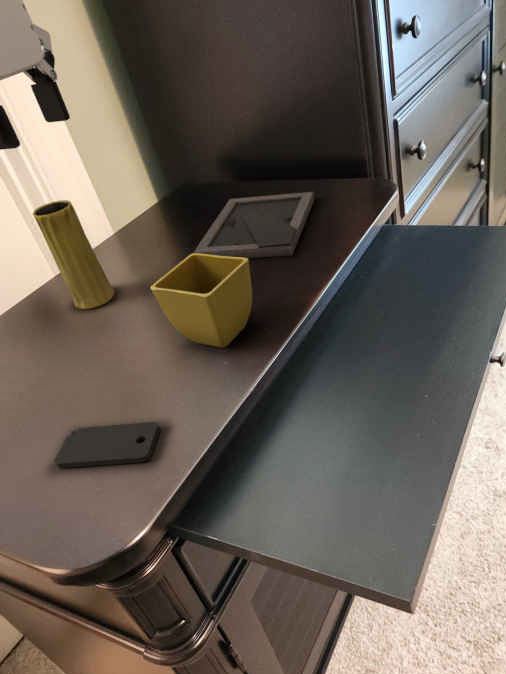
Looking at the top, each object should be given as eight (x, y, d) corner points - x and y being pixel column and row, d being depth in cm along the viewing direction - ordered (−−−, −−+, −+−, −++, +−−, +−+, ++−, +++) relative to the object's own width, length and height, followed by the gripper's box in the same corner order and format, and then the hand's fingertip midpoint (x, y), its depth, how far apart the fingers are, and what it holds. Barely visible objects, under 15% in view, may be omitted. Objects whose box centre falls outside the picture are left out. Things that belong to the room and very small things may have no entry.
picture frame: (292, 255, 80) (314, 200, 95) (290, 243, 79) (312, 189, 94) (196, 261, 84) (231, 207, 99) (192, 249, 83) (229, 196, 98)
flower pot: (172, 349, 66) (147, 286, 60) (211, 312, 72) (191, 251, 66) (228, 361, 62) (208, 296, 56) (265, 321, 68) (250, 257, 62)
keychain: (70, 428, 56) (158, 421, 55) (73, 433, 57) (161, 426, 55) (52, 464, 53) (146, 457, 51) (55, 468, 53) (148, 461, 52)
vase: (123, 292, 80) (83, 200, 71) (92, 313, 77) (46, 219, 67) (97, 286, 83) (55, 197, 74) (67, 306, 80) (19, 215, 70)
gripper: (-24, -62, 56) (50, 114, 67) (-163, -50, 44) (-44, 163, 55) (34, -76, 54) (100, 108, 65) (-96, -67, 41) (14, 158, 53)
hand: (34, 133), depth 60 cm, fingers open, 9 cm apart
